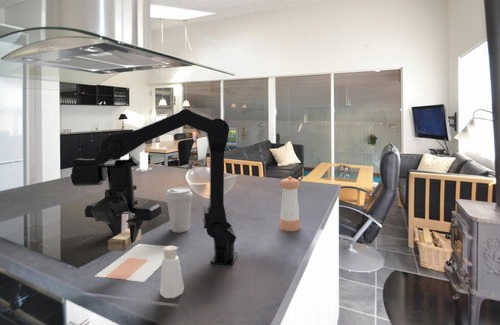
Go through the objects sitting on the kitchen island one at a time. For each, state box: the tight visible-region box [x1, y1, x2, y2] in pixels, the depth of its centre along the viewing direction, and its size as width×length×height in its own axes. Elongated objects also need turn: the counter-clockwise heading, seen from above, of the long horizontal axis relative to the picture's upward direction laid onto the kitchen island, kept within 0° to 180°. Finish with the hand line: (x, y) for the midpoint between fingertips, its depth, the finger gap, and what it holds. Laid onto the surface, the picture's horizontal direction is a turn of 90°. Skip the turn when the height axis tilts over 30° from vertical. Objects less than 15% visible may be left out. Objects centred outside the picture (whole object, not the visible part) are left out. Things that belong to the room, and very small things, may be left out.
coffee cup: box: [164, 186, 194, 233], centre depth 99 cm, size 10×10×15 cm
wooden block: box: [107, 228, 142, 252], centre depth 72 cm, size 8×4×2 cm, turn 169°
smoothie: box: [122, 214, 129, 232], centre depth 97 cm, size 6×6×14 cm
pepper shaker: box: [159, 245, 185, 299], centre depth 62 cm, size 5×5×11 cm
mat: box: [94, 243, 180, 283], centre depth 78 cm, size 19×14×1 cm
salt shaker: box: [279, 176, 301, 232], centre depth 100 cm, size 7×7×19 cm
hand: (126, 241), depth 72 cm, fingers closed on wooden block, 4 cm apart
